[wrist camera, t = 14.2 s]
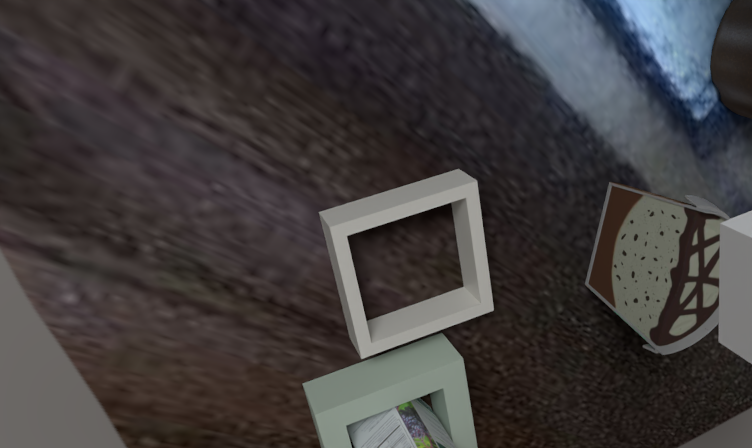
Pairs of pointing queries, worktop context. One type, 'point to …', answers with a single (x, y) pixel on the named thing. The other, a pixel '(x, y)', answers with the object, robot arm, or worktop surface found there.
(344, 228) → the frame
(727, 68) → the plant pot
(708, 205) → the food container
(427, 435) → the syrup box
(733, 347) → the robot arm
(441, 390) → the socket
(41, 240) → the worktop surface
